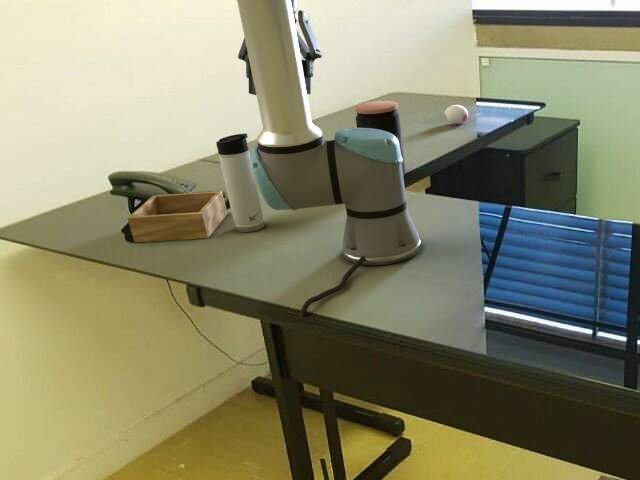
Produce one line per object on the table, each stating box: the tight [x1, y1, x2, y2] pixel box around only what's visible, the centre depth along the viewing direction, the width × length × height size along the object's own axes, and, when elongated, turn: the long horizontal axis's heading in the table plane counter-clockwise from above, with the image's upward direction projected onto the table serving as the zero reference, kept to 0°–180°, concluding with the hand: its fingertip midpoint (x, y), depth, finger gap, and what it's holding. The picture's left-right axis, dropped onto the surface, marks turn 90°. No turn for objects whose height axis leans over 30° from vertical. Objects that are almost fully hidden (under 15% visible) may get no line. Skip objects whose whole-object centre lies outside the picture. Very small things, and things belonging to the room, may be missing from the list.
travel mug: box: [215, 133, 265, 233], centre depth 168 cm, size 6×7×20 cm
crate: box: [126, 190, 228, 243], centre depth 175 cm, size 16×16×6 cm
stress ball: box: [444, 104, 469, 127], centre depth 249 cm, size 8×8×7 cm
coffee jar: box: [353, 100, 407, 178], centre depth 196 cm, size 11×11×18 cm
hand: (279, 93), depth 172 cm, fingers open, 13 cm apart
